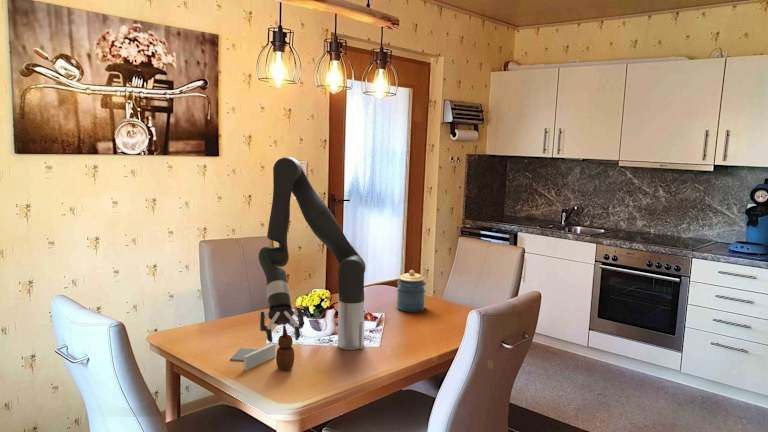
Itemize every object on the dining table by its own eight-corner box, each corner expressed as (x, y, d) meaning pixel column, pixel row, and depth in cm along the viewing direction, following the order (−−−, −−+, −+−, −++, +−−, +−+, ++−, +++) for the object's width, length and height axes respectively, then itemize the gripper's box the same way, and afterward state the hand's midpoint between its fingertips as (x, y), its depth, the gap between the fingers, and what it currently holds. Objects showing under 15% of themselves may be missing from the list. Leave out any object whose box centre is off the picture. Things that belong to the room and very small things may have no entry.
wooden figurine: (277, 364, 187) (277, 321, 185) (294, 364, 187) (295, 321, 185) (275, 373, 180) (275, 328, 178) (293, 373, 181) (293, 328, 179)
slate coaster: (267, 351, 198) (267, 349, 198) (259, 362, 188) (259, 360, 188) (240, 349, 199) (240, 348, 199) (230, 360, 189) (230, 359, 189)
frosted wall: (272, 355, 194) (272, 343, 194) (275, 356, 194) (275, 344, 193) (243, 369, 182) (243, 356, 182) (246, 370, 182) (246, 357, 181)
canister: (406, 302, 264) (407, 265, 261) (430, 307, 256) (431, 269, 254) (390, 308, 253) (391, 270, 251) (414, 314, 246) (416, 275, 243)
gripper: (258, 292, 187) (263, 337, 178) (301, 290, 192) (307, 333, 183) (256, 303, 193) (260, 347, 184) (297, 300, 198) (303, 343, 189)
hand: (284, 340), depth 184 cm, fingers open, 8 cm apart
